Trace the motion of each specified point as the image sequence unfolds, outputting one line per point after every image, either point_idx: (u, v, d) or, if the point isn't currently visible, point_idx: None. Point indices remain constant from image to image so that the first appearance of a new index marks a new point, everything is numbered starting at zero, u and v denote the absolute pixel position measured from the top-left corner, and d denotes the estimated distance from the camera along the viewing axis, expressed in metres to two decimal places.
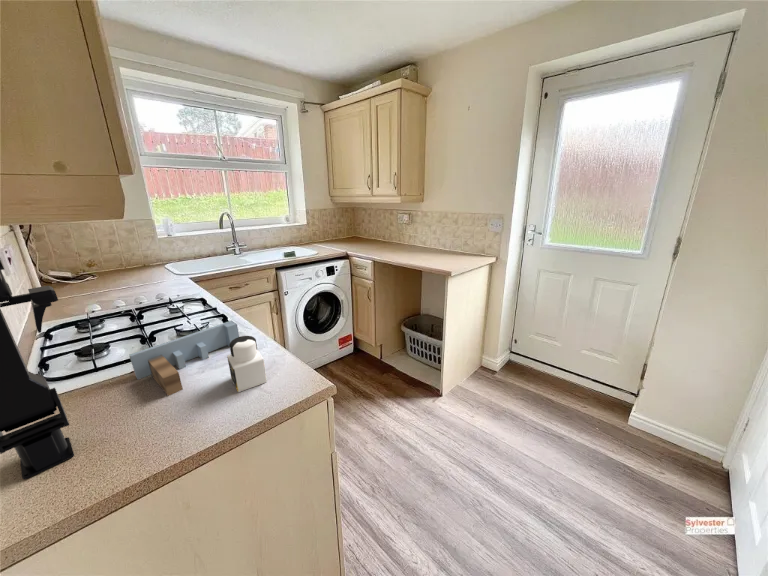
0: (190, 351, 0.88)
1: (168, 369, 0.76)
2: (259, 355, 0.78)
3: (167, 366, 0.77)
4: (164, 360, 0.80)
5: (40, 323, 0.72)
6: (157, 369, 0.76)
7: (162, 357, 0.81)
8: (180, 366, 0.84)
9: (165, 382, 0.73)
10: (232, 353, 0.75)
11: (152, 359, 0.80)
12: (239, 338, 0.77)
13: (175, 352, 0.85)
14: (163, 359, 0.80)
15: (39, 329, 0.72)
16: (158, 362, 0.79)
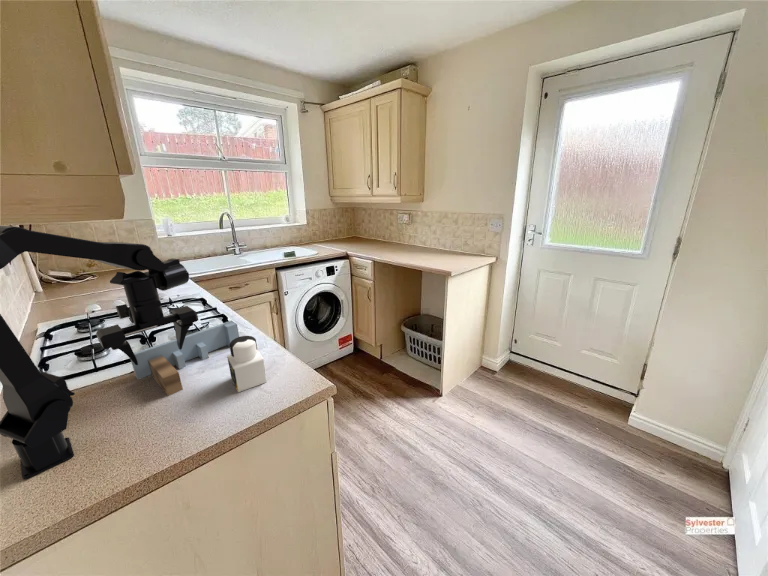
0: (190, 351, 0.88)
1: (168, 369, 0.76)
2: (259, 355, 0.78)
3: (166, 366, 0.77)
4: (164, 360, 0.80)
5: (183, 341, 0.78)
6: (157, 369, 0.76)
7: (162, 357, 0.81)
8: (180, 366, 0.84)
9: (165, 382, 0.73)
10: (232, 353, 0.75)
11: (152, 359, 0.80)
12: (239, 338, 0.77)
13: (175, 352, 0.85)
14: (163, 359, 0.80)
15: (181, 346, 0.79)
16: (158, 362, 0.79)
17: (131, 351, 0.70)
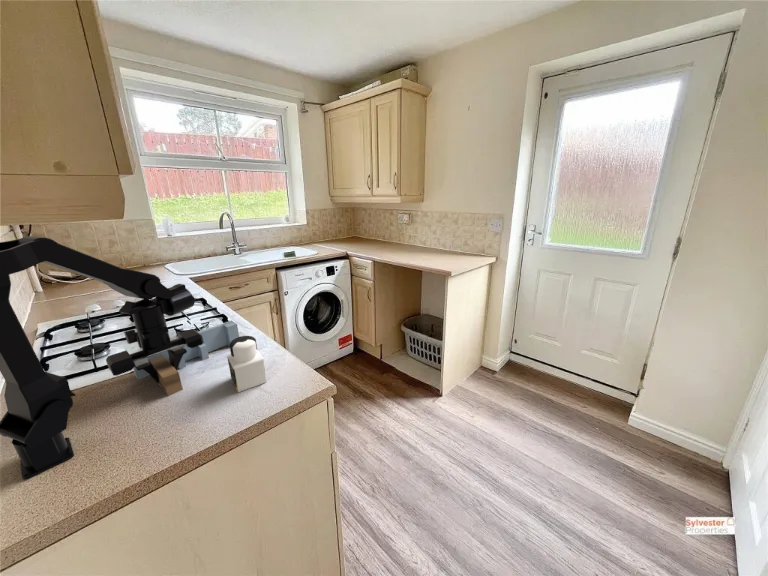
0: (190, 351, 0.88)
1: (168, 369, 0.76)
2: (259, 355, 0.78)
3: (166, 366, 0.77)
4: (164, 360, 0.80)
5: (176, 368, 0.79)
6: (157, 369, 0.76)
7: (162, 357, 0.81)
8: (180, 366, 0.84)
9: (165, 382, 0.73)
10: (232, 353, 0.75)
11: (152, 359, 0.80)
12: (239, 338, 0.77)
13: None
14: (163, 359, 0.80)
15: None
16: (158, 362, 0.79)
17: (154, 371, 0.74)
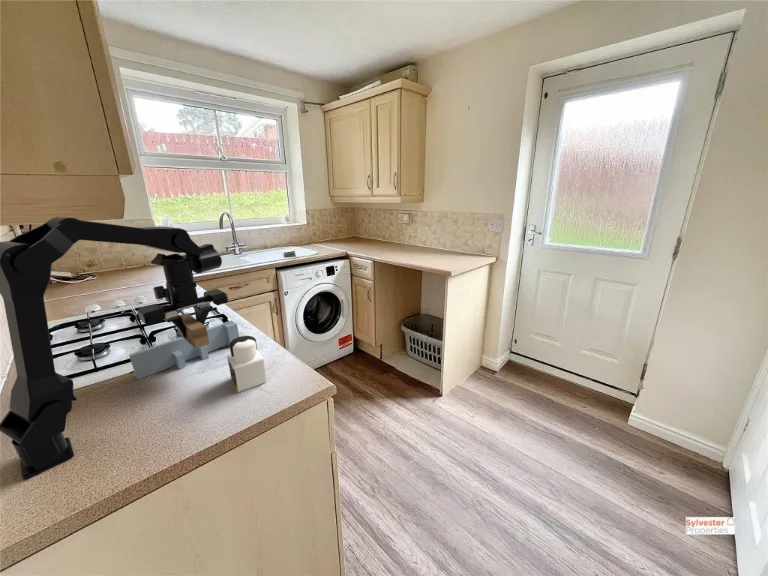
0: (190, 351, 0.88)
1: (196, 324, 0.78)
2: (259, 355, 0.78)
3: (193, 321, 0.80)
4: (190, 317, 0.82)
5: None
6: (185, 324, 0.78)
7: (188, 315, 0.83)
8: (180, 366, 0.84)
9: (193, 335, 0.76)
10: (232, 353, 0.75)
11: None
12: (239, 338, 0.77)
13: (175, 352, 0.85)
14: (189, 316, 0.82)
15: None
16: (185, 318, 0.81)
17: (182, 324, 0.77)
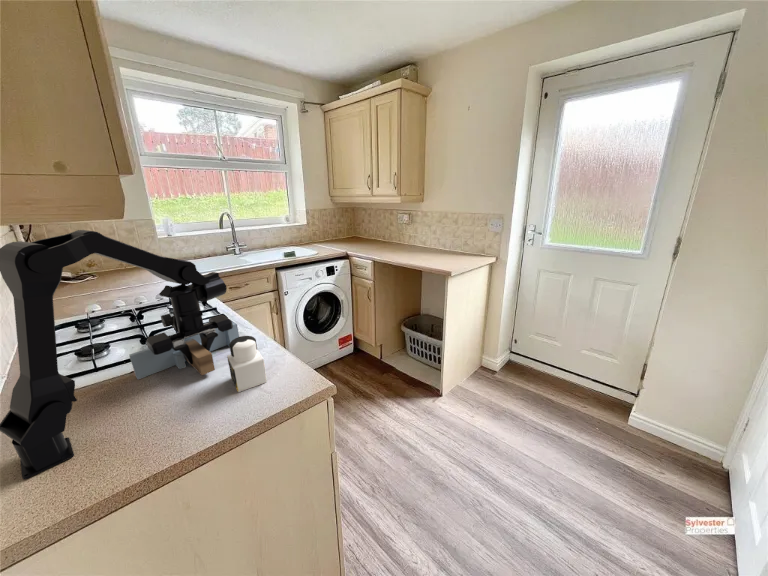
0: None
1: (201, 351, 0.81)
2: (259, 355, 0.78)
3: (199, 348, 0.82)
4: (196, 343, 0.85)
5: None
6: (191, 351, 0.81)
7: (194, 340, 0.86)
8: (180, 366, 0.84)
9: (200, 362, 0.78)
10: (232, 353, 0.75)
11: (185, 342, 0.85)
12: (239, 338, 0.77)
13: (175, 352, 0.85)
14: (195, 342, 0.85)
15: None
16: (191, 345, 0.84)
17: (189, 352, 0.79)
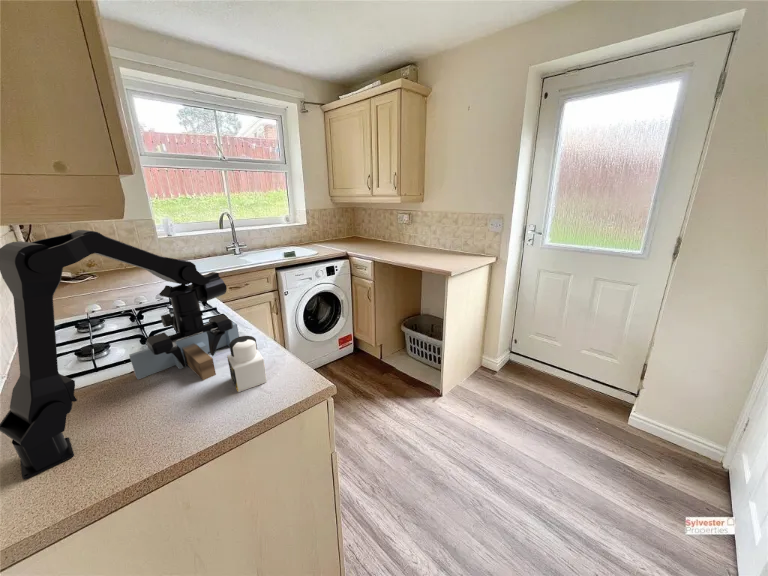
0: None
1: (203, 356, 0.82)
2: (259, 355, 0.78)
3: (200, 353, 0.83)
4: (197, 348, 0.85)
5: (215, 348, 0.85)
6: (192, 356, 0.82)
7: (195, 345, 0.87)
8: (180, 366, 0.84)
9: (201, 367, 0.79)
10: (232, 353, 0.75)
11: (186, 347, 0.86)
12: (239, 338, 0.77)
13: None
14: (196, 347, 0.86)
15: (213, 353, 0.86)
16: (192, 349, 0.84)
17: (181, 355, 0.78)
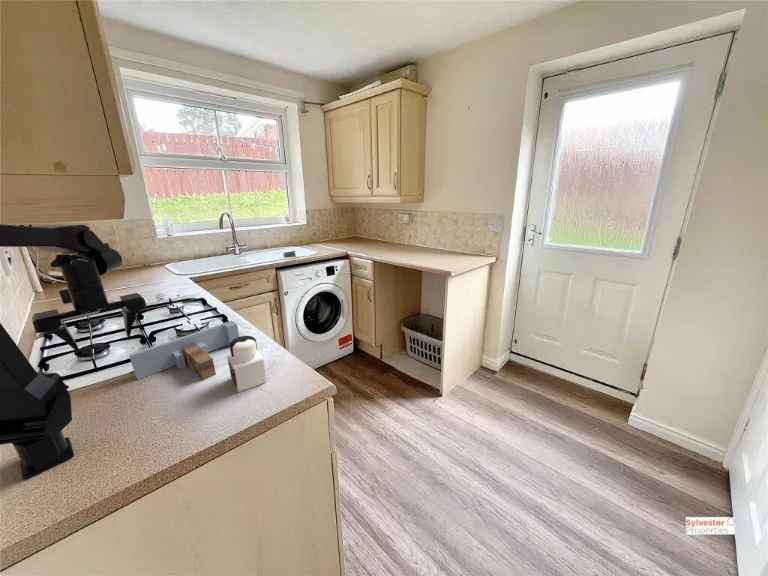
0: None
1: (203, 356, 0.82)
2: (259, 355, 0.78)
3: (200, 353, 0.83)
4: (197, 348, 0.85)
5: (130, 328, 0.76)
6: (192, 356, 0.82)
7: (195, 345, 0.87)
8: (180, 366, 0.84)
9: (201, 367, 0.79)
10: (232, 353, 0.75)
11: (186, 347, 0.86)
12: (239, 338, 0.77)
13: (175, 352, 0.85)
14: (196, 347, 0.86)
15: (129, 334, 0.76)
16: (192, 349, 0.84)
17: (69, 337, 0.67)
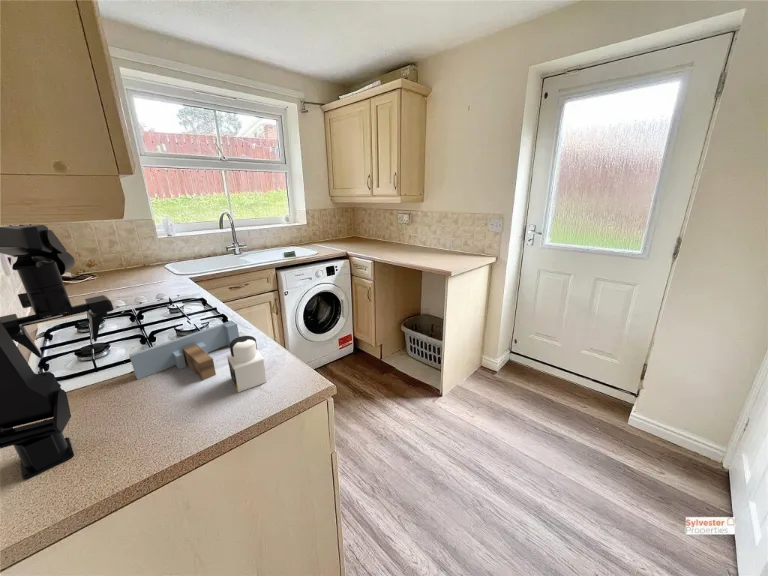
0: None
1: (203, 356, 0.82)
2: (259, 355, 0.78)
3: (200, 353, 0.83)
4: (197, 348, 0.85)
5: (96, 332, 0.73)
6: (192, 356, 0.82)
7: (195, 345, 0.87)
8: (180, 366, 0.84)
9: (201, 367, 0.79)
10: (232, 353, 0.75)
11: (186, 347, 0.86)
12: (239, 338, 0.77)
13: (175, 352, 0.85)
14: (196, 347, 0.86)
15: (95, 338, 0.74)
16: (192, 349, 0.84)
17: (29, 342, 0.65)
